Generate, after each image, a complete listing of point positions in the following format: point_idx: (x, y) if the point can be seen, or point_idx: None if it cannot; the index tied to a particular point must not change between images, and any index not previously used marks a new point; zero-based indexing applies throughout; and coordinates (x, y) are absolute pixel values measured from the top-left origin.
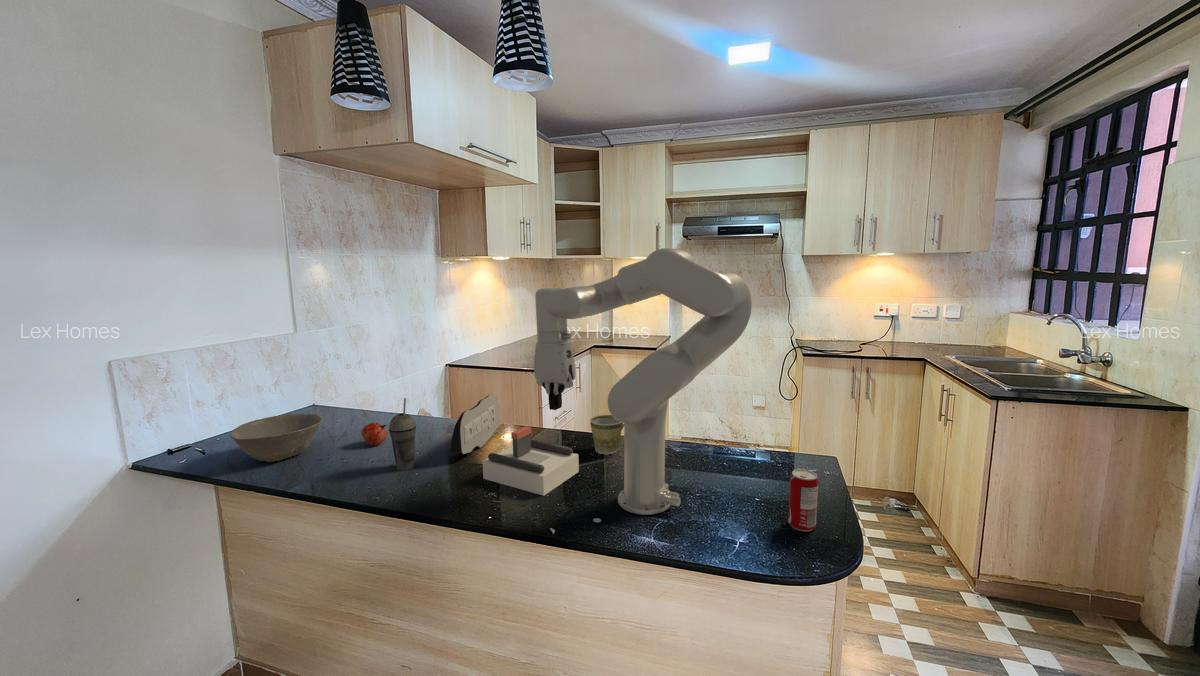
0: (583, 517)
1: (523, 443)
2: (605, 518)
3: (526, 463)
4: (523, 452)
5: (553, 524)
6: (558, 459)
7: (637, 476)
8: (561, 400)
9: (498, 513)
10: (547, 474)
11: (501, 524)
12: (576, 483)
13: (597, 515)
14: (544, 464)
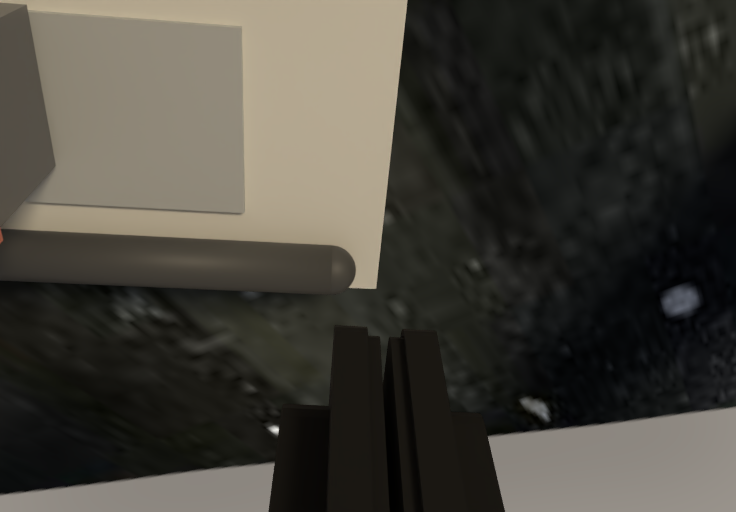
0: (620, 307)
1: (5, 130)
2: (713, 280)
3: (231, 288)
4: (39, 108)
5: (523, 382)
6: (324, 35)
7: None
8: (491, 473)
9: (285, 403)
10: (379, 251)
11: None
12: (469, 36)
13: (675, 274)
14: (282, 152)
